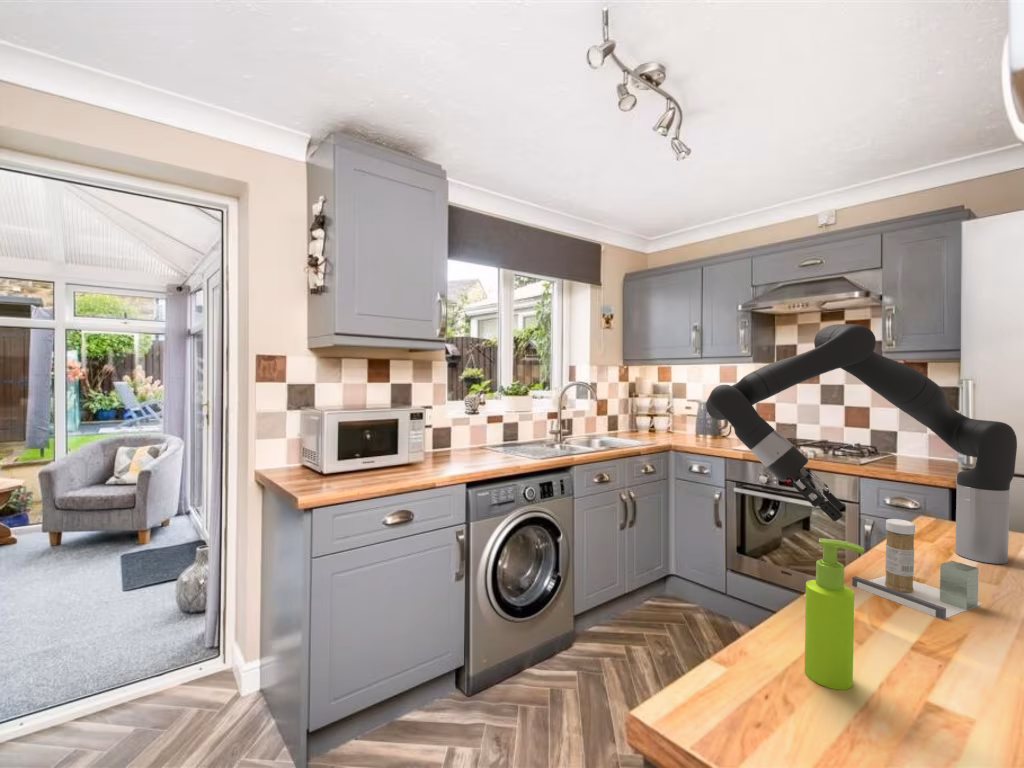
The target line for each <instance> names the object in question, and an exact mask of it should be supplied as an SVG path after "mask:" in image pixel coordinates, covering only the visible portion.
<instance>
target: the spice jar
mask: <svg viewBox="0 0 1024 768" xmlns="http://www.w3.org/2000/svg"><path fill="white" fill-rule="evenodd" d="M885 521H886V522H885V531H886V543H885V576H886V582H885V585H886V586H887V587H888V588H890V589H893V590H896V591H899V592H905V593H908V592H912V591H913V590H914V589H913V581H914V573H915V572H914V568H915V547H914V543H915V542H914V541H915V540H914V539H915V538H914V537H915V534H916V524H915V523H914V522H912V521H909V520H906V519H899V518H888V519H886V520H885Z"/></svg>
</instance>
